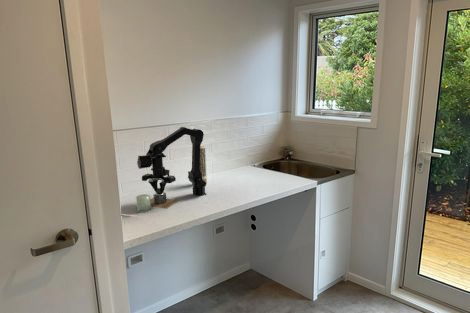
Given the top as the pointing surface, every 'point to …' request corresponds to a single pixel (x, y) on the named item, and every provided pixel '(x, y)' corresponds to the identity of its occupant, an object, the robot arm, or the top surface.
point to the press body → (160, 199)
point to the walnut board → (166, 205)
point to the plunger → (159, 192)
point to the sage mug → (143, 203)
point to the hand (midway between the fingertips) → (159, 193)
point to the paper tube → (203, 163)
